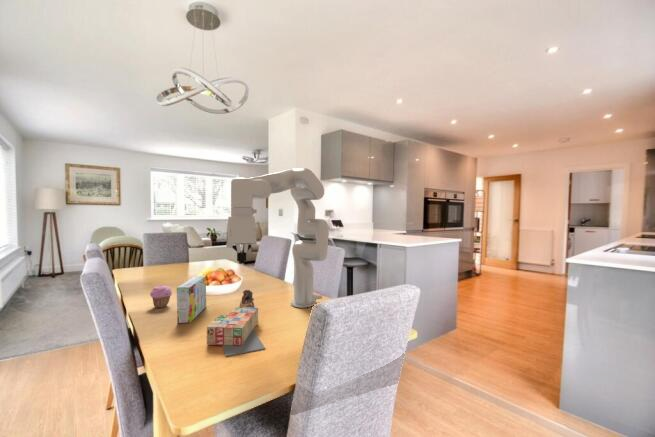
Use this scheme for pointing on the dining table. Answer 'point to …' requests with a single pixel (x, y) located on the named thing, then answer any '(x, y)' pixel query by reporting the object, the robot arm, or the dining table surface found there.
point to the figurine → (247, 300)
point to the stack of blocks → (232, 327)
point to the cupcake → (161, 296)
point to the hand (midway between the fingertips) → (241, 263)
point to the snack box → (191, 299)
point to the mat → (245, 346)
